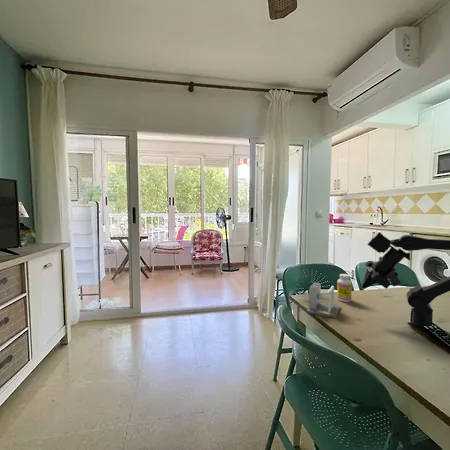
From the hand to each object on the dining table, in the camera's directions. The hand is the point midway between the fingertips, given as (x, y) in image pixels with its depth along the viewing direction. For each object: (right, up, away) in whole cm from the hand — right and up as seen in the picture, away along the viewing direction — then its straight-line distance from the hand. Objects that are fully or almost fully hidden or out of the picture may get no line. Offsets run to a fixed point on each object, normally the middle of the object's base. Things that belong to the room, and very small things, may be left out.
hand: (362, 287), depth 113 cm
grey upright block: (-14, -11, +7) cm, 19 cm away
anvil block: (-17, -11, +10) cm, 23 cm away
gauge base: (-13, -12, +8) cm, 20 cm away
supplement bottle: (+2, -12, +22) cm, 25 cm away
